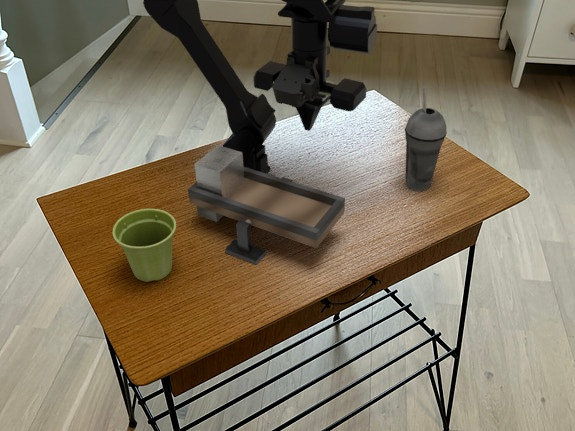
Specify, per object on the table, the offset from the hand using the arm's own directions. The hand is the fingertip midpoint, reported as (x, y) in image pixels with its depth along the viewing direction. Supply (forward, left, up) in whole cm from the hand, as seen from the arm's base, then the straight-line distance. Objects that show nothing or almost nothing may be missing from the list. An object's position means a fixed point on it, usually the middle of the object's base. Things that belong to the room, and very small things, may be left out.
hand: (308, 129), depth 107 cm
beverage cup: (+18, +10, -12) cm, 24 cm away
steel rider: (-8, -15, -6) cm, 19 cm away
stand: (0, -15, -12) cm, 19 cm away
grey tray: (0, -15, -10) cm, 18 cm away
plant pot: (-11, -32, -12) cm, 36 cm away
